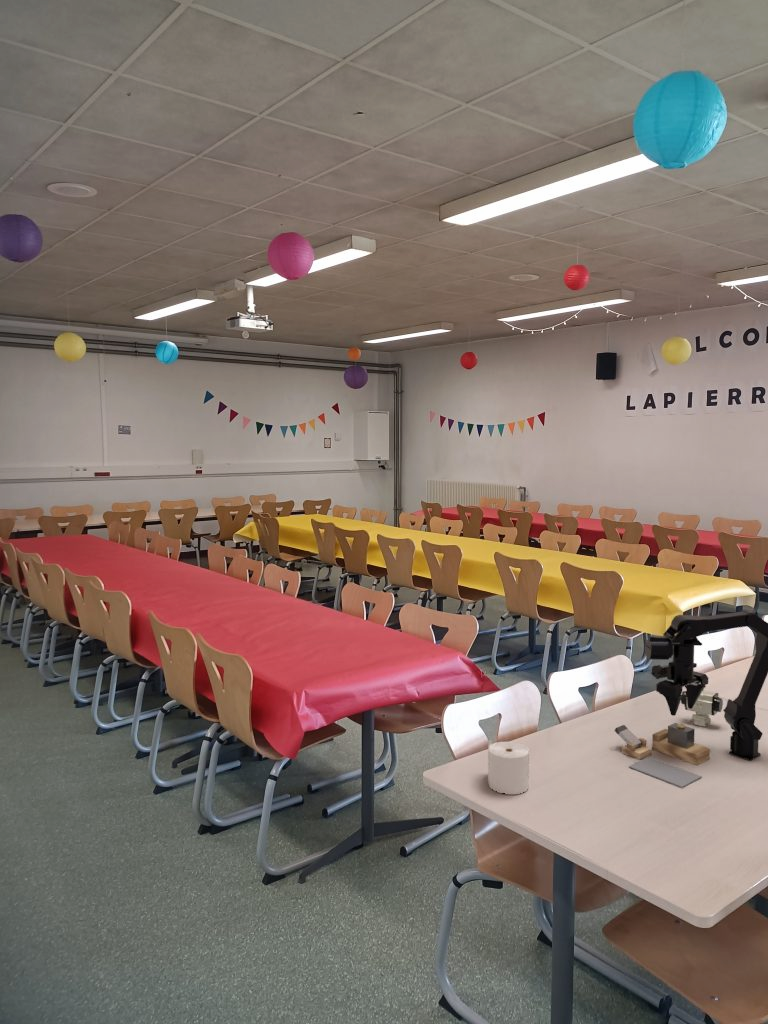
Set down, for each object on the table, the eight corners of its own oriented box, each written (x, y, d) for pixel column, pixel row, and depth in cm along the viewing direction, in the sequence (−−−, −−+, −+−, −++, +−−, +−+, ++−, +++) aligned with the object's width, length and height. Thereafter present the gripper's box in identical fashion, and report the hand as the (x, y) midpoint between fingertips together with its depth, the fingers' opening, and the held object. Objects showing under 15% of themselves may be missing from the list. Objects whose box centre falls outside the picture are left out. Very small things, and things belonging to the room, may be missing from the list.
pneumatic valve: (684, 718, 239) (685, 683, 238) (722, 726, 232) (723, 690, 231) (679, 723, 235) (680, 687, 234) (717, 732, 228) (718, 695, 227)
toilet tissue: (521, 798, 184) (521, 761, 184) (477, 788, 190) (477, 751, 190) (534, 782, 194) (534, 746, 193) (492, 772, 200) (492, 737, 199)
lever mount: (652, 754, 211) (652, 742, 211) (639, 760, 207) (639, 748, 207) (634, 747, 216) (634, 735, 216) (620, 753, 212) (621, 741, 212)
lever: (642, 743, 212) (624, 724, 217) (635, 747, 209) (616, 727, 214) (641, 746, 212) (622, 727, 217) (633, 749, 210) (614, 730, 215)
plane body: (709, 758, 208) (710, 743, 208) (696, 765, 204) (697, 749, 203) (665, 743, 219) (665, 728, 219) (652, 749, 215) (652, 734, 214)
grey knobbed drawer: (694, 745, 210) (694, 726, 209) (686, 748, 207) (687, 730, 207) (674, 739, 215) (675, 720, 214) (667, 742, 212) (668, 723, 212)
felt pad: (701, 777, 196) (701, 776, 196) (682, 788, 190) (682, 786, 190) (648, 758, 208) (648, 756, 208) (628, 767, 202) (628, 766, 202)
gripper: (674, 648, 221) (673, 697, 222) (640, 659, 210) (638, 711, 211) (710, 656, 212) (708, 707, 213) (675, 667, 201) (674, 722, 202)
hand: (681, 711), depth 210 cm, fingers open, 9 cm apart
